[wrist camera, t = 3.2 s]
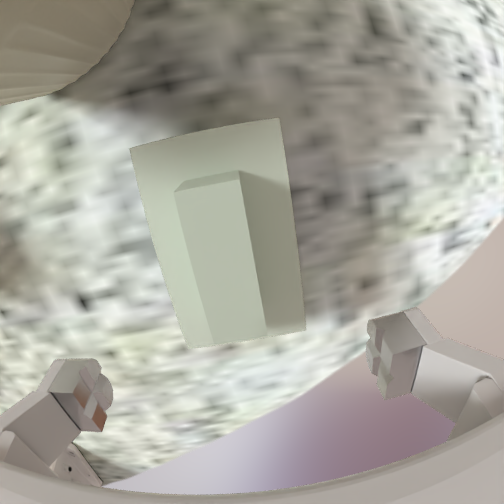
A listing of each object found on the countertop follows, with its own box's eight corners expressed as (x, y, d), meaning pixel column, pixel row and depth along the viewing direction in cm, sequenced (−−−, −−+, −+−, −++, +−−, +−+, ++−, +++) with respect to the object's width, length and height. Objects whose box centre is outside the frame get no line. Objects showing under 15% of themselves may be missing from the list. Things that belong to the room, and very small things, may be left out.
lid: (301, 314, 21) (316, 359, 17) (190, 332, 21) (183, 379, 17) (274, 118, 16) (289, 115, 12) (139, 145, 16) (109, 153, 12)
